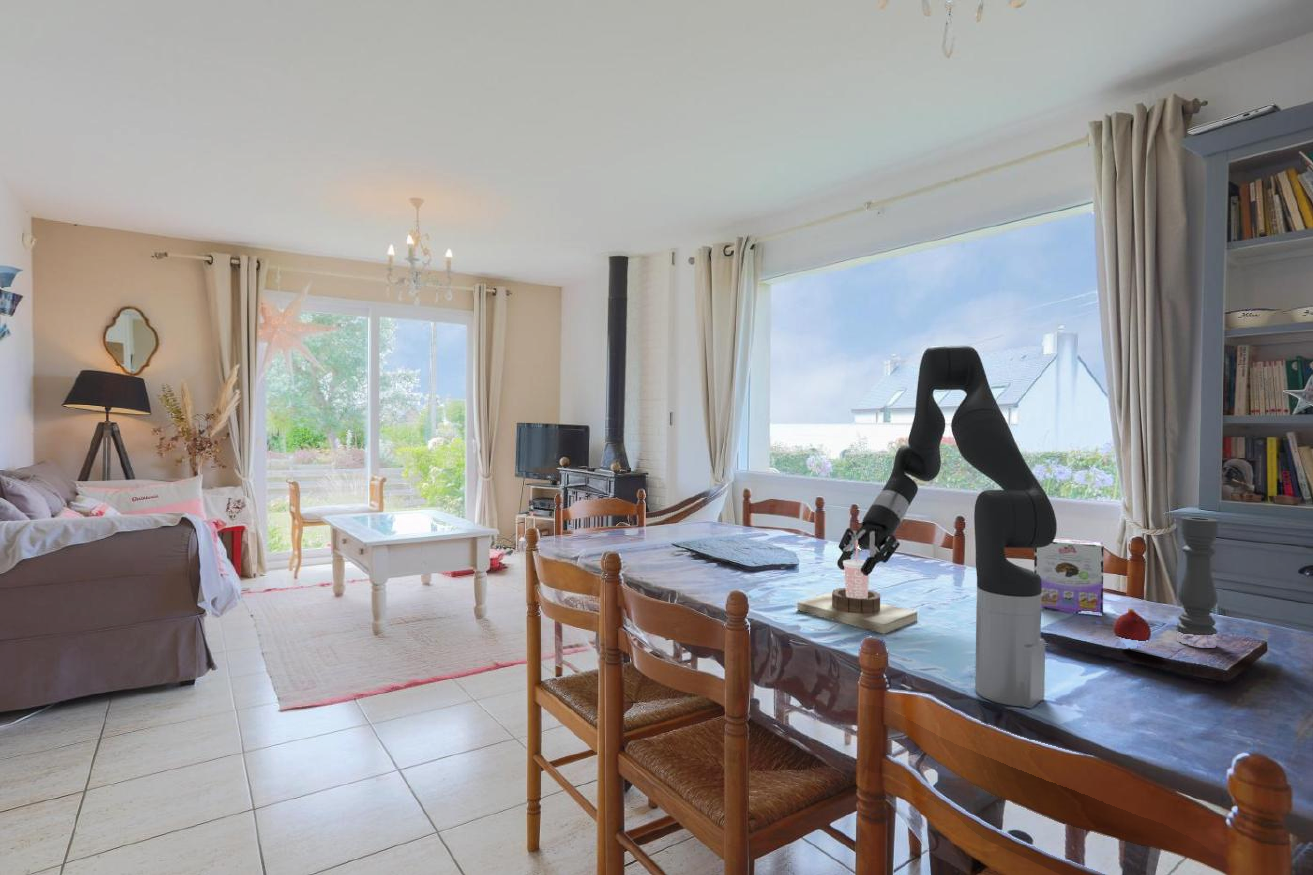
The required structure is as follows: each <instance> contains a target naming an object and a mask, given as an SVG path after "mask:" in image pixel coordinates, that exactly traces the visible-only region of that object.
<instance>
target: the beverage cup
mask: <svg viewBox="0 0 1313 875" xmlns="http://www.w3.org/2000/svg"><path fill="white" fill-rule="evenodd" d="M858 547H859V544H858V540H856V554H855V559H854V558H851V559H849V560H844V561H843V566H844V570H843V571H844V584H845V587H844V588H846V597H849V598H858V599H864V598H868V590H869V581H870V574H868V576H865V575H863V573H862V572H861V568H862V566H863V564H864V563H865V561H866V559H859V553H858Z"/></svg>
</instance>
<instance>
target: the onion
mask: <svg viewBox="0 0 1313 875" xmlns="http://www.w3.org/2000/svg"><path fill="white" fill-rule="evenodd" d="M1127 610H1128V611H1127V612H1125V613H1124V614H1121V616H1119V617H1118V618H1117V619H1116V620H1115V622H1114V624H1113V633H1114V635H1115V637H1116V636H1118V637H1121V638H1125V639H1131V640H1138V641H1146V640H1148V641H1150V639H1151V635H1152V632H1151V628H1150V625H1149V623H1148V622H1147V621H1146V619H1144V618H1143V617H1142V616H1141V615H1139V614H1138V613H1137V612H1136V611H1135V610H1134V609H1133V608H1131V607H1129V608H1128V609H1127Z"/></svg>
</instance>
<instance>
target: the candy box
mask: <svg viewBox="0 0 1313 875" xmlns="http://www.w3.org/2000/svg"><path fill="white" fill-rule="evenodd" d="M1033 549H1034V560H1033V561H1034V562H1033V565H1034V566H1033V568H1034V570H1033V572H1035V573H1037V574H1038V575H1039V576H1040V577H1041V581H1042V592H1041V610H1046V611H1047V610H1049V611H1055V612H1063V613H1070V614H1071V613H1072V614H1078V612H1081V611H1092V612H1100V613H1103V614H1104V544H1103V541H1094V540H1093V541H1092V540H1080V539H1079V540H1078V539H1067V538H1066V539H1065V538H1055V539H1054V540H1053V542H1052V543H1051V544H1049V545H1048V546H1045V547H1040V548H1033Z"/></svg>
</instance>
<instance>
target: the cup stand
mask: <svg viewBox="0 0 1313 875" xmlns="http://www.w3.org/2000/svg"><path fill="white" fill-rule="evenodd" d="M796 606H797V610H800V611H803V612H802V613H804V612H807V613H806V614H808V613H810V614H809V615H811V614H814V615H813V616H815V615H817V616H816V617H819V616H821V617H820V618H823V617H824V619H826V618H827V620H830V619H833V620H832V621H834V620H836V621H835V622H837V621H839V623H841V622H842V624H845V623H846V625H849V624H850V625H849V626H852V625H854V626H853V627H856V626H858V627H857V628H860V627H861V629H864V628H865V629H864V630H867V629H871V630H873V631H872V632H875V631H876V633H880V634H883V635H886V634H888V633H890V632H893V631H896V630H897V629H900V628H903V627H905V626H908V625H910V624H912V623H914V622H918V611H916V610H911V609H908V608H903V607H898V606H894V605H890V604H885V603H882V602H881V593H878V592H876V591H874V590H871V589H868V598H864V599H858V598H849V597H846V588H845V587H841V588H836V589H833V590H832V591H831V592H828V593H824V594H821V595H818V596H813V597H810V598H808V599H805V600H804V599H803V600H800V601H797V605H796ZM800 611H799V612H800ZM871 630H870V631H871Z"/></svg>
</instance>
